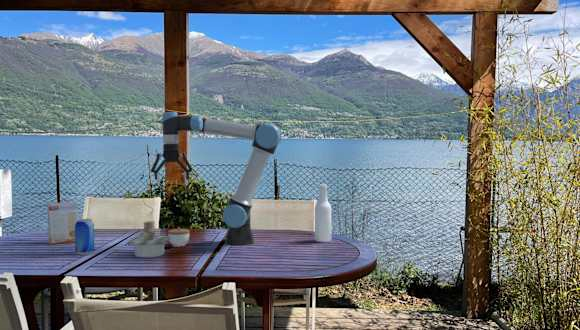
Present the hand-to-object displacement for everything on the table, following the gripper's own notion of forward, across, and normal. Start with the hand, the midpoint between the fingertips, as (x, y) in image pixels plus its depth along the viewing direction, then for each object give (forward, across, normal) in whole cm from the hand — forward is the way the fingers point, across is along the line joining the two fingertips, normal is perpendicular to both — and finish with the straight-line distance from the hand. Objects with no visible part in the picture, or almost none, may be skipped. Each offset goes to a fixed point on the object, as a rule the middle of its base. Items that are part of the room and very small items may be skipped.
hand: (172, 186), depth 268 cm
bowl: (+30, +9, +16) cm, 35 cm away
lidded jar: (+31, -2, -4) cm, 31 cm away
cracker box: (+30, +60, -15) cm, 68 cm away
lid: (+24, +9, +16) cm, 30 cm away
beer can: (+30, +40, +13) cm, 51 cm away
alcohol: (+32, -76, -12) cm, 84 cm away
